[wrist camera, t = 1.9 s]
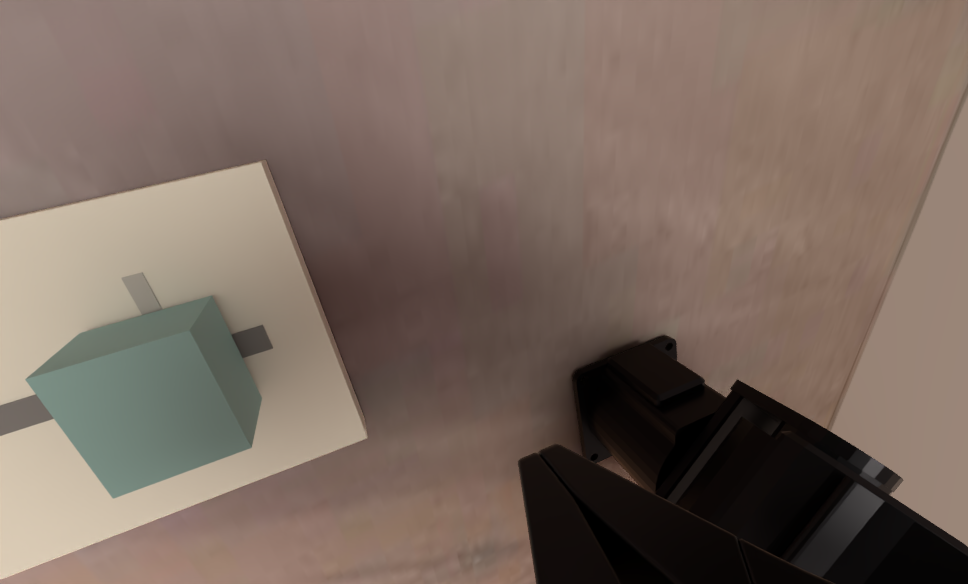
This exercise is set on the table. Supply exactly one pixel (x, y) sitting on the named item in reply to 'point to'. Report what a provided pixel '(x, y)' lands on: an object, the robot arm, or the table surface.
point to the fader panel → (142, 290)
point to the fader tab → (152, 395)
